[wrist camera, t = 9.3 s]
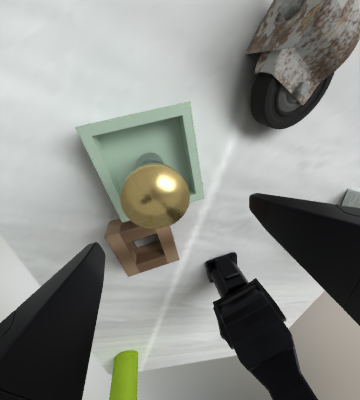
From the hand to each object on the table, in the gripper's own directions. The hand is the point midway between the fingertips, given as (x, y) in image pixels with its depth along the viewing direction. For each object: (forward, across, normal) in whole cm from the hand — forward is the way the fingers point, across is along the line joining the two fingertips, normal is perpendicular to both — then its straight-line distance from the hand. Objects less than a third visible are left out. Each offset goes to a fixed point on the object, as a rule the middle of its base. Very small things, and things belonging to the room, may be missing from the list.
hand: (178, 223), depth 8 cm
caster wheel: (+13, -17, -7) cm, 23 cm away
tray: (+13, +1, -1) cm, 13 cm away
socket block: (+13, +5, +10) cm, 17 cm away
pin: (+12, +1, -1) cm, 12 cm away
